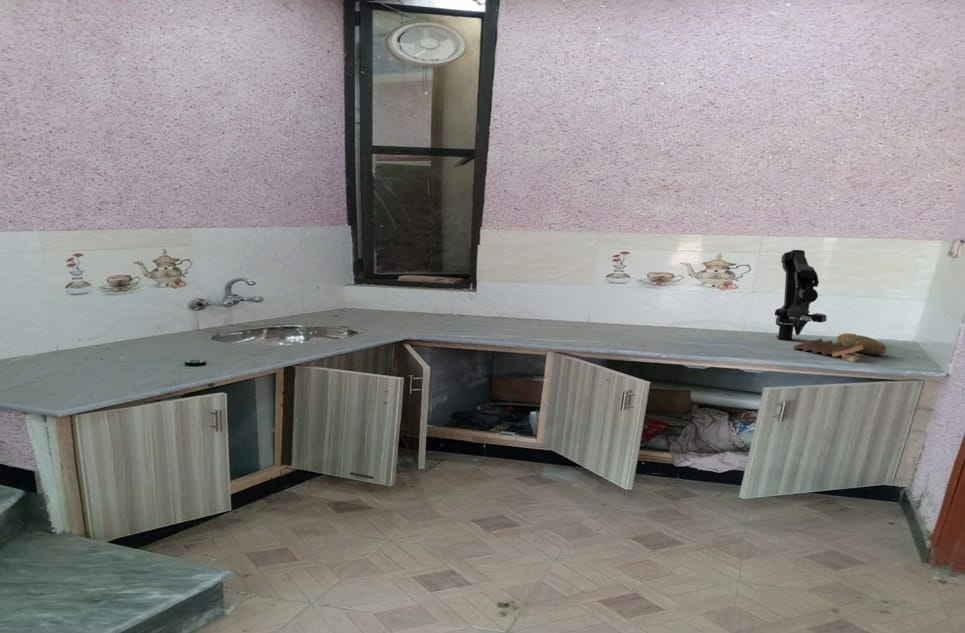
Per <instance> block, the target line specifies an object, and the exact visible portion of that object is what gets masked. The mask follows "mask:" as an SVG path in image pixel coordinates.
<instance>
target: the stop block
mask: <svg viewBox="0 0 965 633" xmlns="http://www.w3.org/2000/svg"><path fill="white" fill-rule="evenodd" d="M860 357H861V353H858V352H851V353H847V354H843V355H841V361H845V362H852V363H854V362H856V361H858V360H860V359H861V358H860Z"/></svg>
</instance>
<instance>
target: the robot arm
mask: <svg viewBox="0 0 965 633" xmlns="http://www.w3.org/2000/svg"><path fill="white" fill-rule="evenodd" d="M805 253H806V252H805V250H802V249H792V250H790V251H787V252H785V253H783V254H782V256H781V260H780V261H781V262H780V263H782V269H783V271H784V272H785V284H784V285H785V286H784V297H783V298H784V299H783V300H784V302H783V305H782V306H781V307H780V308H777V309H775V311H774V316H776V318H775V325H776V326H777V327H779V328H778V335H776V338H777V340H781V341H782V340H783V341H793V342H794V341H795V339H794V338H793V335H794V334H793V333H794V332H795V335H796V336H800V334H801V332H802V331H803V329H804V327H805V326H806V325H807V324H808V322H811V321H812V322H815V323H825V322H826V321H827V315H826V314H825V313H818V312H816V313H813V314H810V310H809V309H810V304H811V303H814V302H815V301H817V299H818V296H819V294H818V291H817V290H816V289H815V288H818V285H819V277H818V273H817V271H816V270H815V267H813V266H810V265H809V263H808V261H807V258H806V254H805Z"/></svg>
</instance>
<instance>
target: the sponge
mask: <svg viewBox="0 0 965 633" xmlns="http://www.w3.org/2000/svg"><path fill="white" fill-rule="evenodd" d="M839 342H842V344H843V345H847V344H851V343H852V345H853V347H855V346H859V345H862V346H863V348H864V349H862V350H859V351H855V353H859V354H865V355H883V354H885V353H887V352H886V351H887V346H886V345H885V344H884V343H882V342H880V341H878V340H875V339H874V338H871V337H868V336H865V335H861V334H858V335H857V334H855V333H849V332H847V333H841V334H839V335H837V337H836V343H839Z"/></svg>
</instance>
